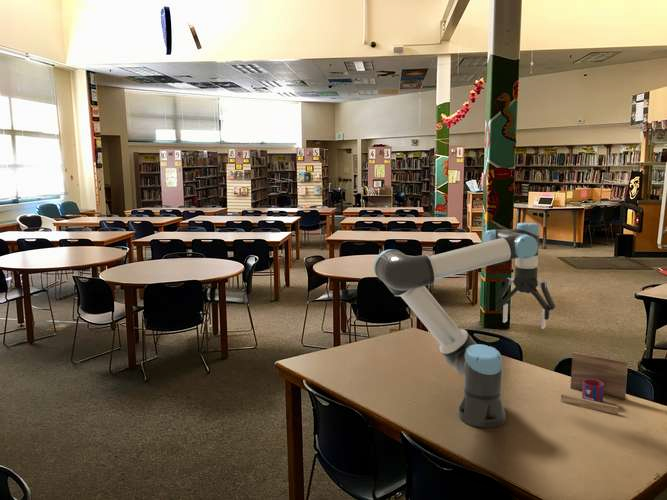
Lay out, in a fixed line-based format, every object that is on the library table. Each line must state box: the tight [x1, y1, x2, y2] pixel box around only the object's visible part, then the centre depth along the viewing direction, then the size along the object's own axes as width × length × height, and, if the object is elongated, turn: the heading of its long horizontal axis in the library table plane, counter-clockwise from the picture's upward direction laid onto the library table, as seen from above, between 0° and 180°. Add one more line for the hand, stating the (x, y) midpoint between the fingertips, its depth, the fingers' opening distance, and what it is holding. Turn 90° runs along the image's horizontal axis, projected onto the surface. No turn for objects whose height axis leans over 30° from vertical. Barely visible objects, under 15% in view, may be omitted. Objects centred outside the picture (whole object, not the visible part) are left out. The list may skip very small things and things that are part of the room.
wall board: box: [570, 351, 629, 401], centre depth 191 cm, size 3×18×14 cm, turn 53°
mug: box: [581, 379, 604, 403], centre depth 186 cm, size 7×10×7 cm
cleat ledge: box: [560, 393, 619, 416], centre depth 180 cm, size 1×18×2 cm, turn 53°
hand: (523, 324), depth 187 cm, fingers open, 13 cm apart
